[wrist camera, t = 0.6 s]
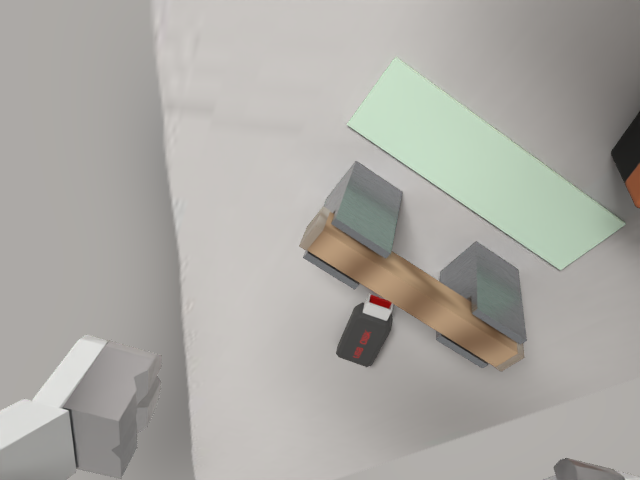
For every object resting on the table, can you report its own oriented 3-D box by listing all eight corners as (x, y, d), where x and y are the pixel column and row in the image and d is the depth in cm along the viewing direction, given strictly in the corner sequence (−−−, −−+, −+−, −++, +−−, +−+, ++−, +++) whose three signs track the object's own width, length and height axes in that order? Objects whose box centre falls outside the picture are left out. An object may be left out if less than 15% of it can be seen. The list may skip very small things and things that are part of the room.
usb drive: (337, 344, 71) (334, 359, 69) (362, 288, 64) (358, 304, 61) (372, 356, 71) (369, 372, 69) (401, 302, 63) (399, 317, 61)
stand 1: (355, 160, 52) (335, 218, 44) (402, 191, 53) (390, 253, 45) (326, 198, 56) (302, 257, 48) (370, 226, 57) (354, 289, 49)
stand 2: (476, 241, 55) (477, 309, 47) (518, 269, 56) (526, 340, 48) (440, 271, 59) (436, 339, 51) (480, 297, 60) (482, 368, 52)
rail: (307, 226, 49) (299, 246, 46) (323, 206, 47) (315, 225, 44) (499, 347, 53) (501, 371, 50) (521, 333, 51) (524, 357, 48)
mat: (395, 56, 45) (395, 58, 44) (624, 222, 49) (625, 224, 49) (347, 123, 50) (346, 124, 49) (559, 268, 54) (560, 270, 54)
